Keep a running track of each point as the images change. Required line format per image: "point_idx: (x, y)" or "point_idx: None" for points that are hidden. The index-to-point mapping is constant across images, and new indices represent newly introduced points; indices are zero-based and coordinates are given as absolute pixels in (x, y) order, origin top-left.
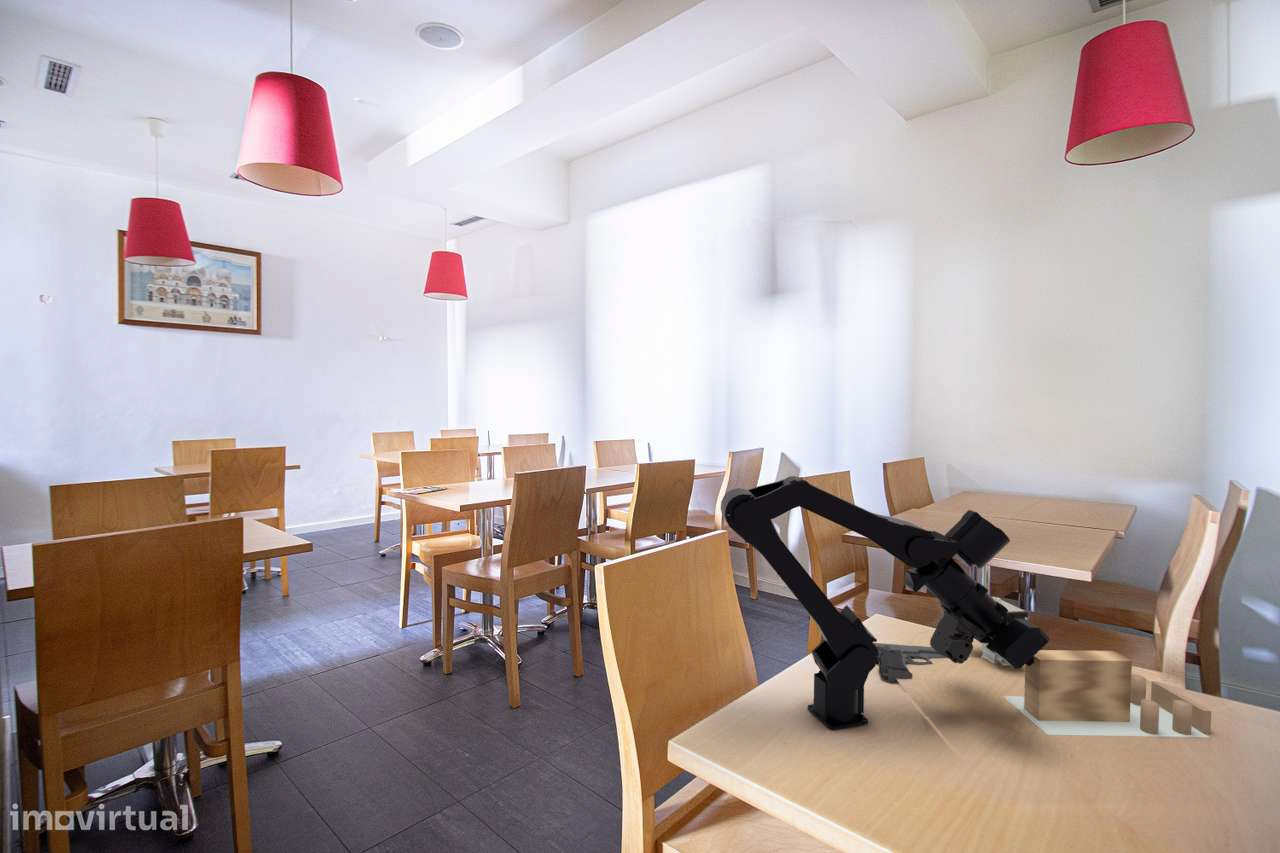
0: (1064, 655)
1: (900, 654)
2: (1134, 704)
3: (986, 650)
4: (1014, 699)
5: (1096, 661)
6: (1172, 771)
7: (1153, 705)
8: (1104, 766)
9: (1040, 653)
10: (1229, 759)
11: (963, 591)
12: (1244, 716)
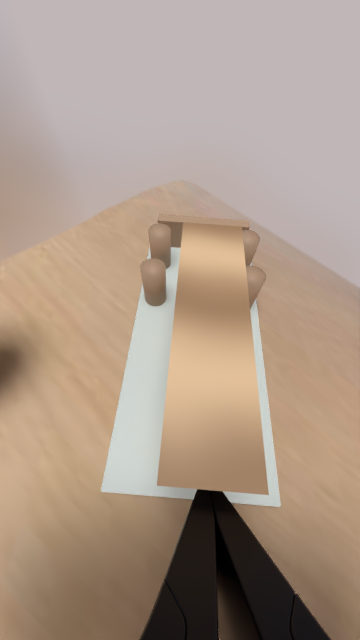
0: (215, 356)
1: None
2: (166, 269)
3: None
4: (121, 470)
5: (247, 294)
6: (333, 349)
7: (263, 276)
8: (351, 449)
9: (198, 438)
10: (283, 266)
11: None
12: (187, 194)
